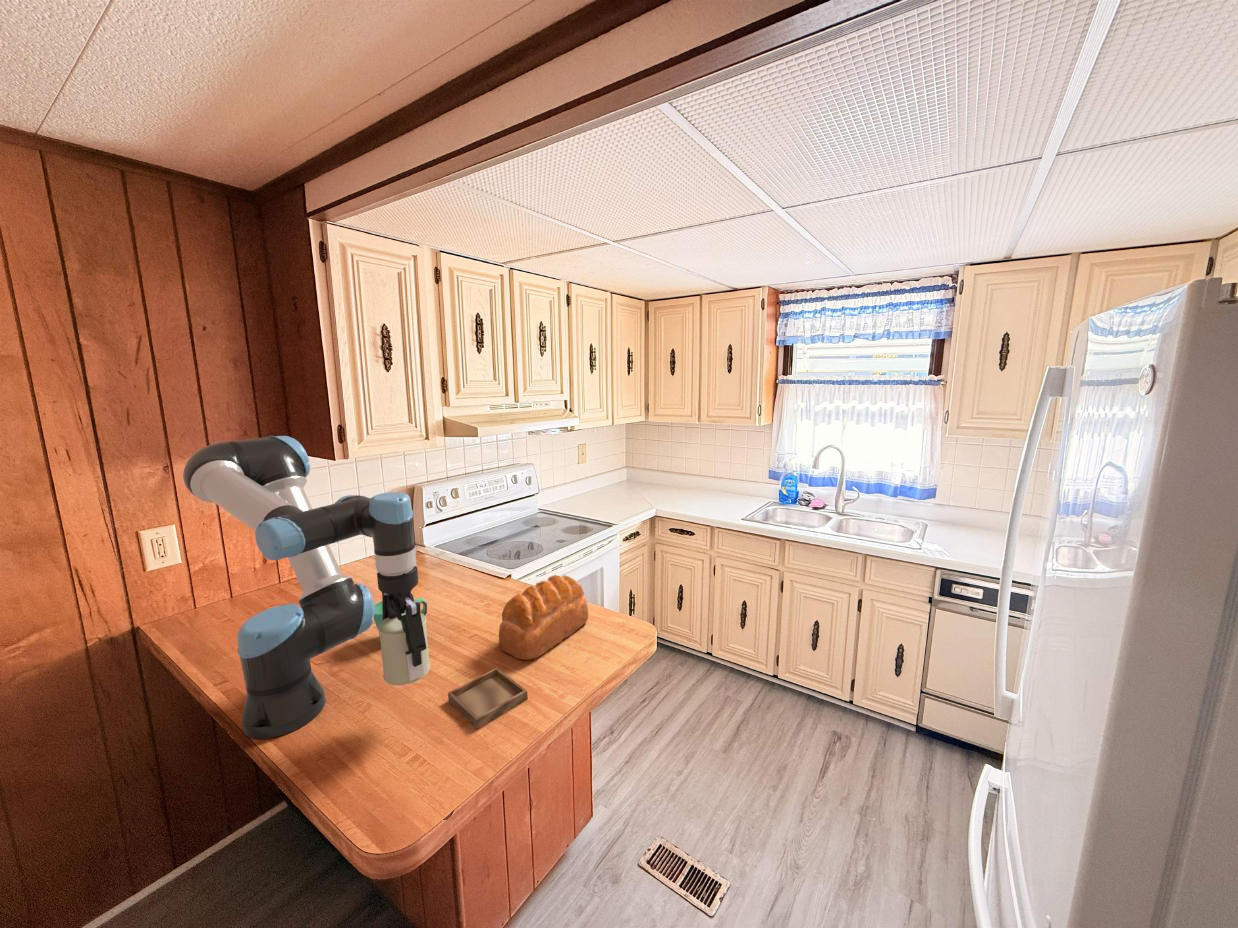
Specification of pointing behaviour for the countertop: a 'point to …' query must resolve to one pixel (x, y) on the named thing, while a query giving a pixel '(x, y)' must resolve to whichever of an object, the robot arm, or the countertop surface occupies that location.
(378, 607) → the mug
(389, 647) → the can
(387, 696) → the countertop surface
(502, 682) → the tray
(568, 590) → the bread
